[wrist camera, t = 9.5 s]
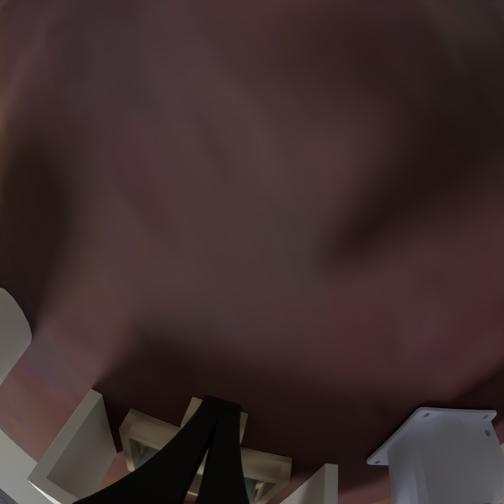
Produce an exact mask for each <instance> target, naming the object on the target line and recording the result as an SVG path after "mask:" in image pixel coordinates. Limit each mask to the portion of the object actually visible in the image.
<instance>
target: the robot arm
mask: <svg viewBox="0 0 504 504" xmlns="http://www.w3.org/2000/svg"><path fill="white" fill-rule="evenodd" d="M241 410H242V407H241V405H239V404H236V403H232V402H229V401H226V400H222V399H219V398H216V397H213V396H210V395H207V396H205V397H204V399H203V401H202V403H201V404H200V406H199V407H198V409H197V410H196V412H195V413H194V414H193V416H192V417H191V418H190V419H189V421H188V422H187V423H186V424H185V425H184V426H183V427H182V429H181V430H180V431H179V432H178V433H177V434H176V435H175V436H174V437H173V438H172V439H171V440H170V441H169V442H168V443H167V444H166V445H165V446H164V447H163V448H162V449H161V450H160V451H159V452H157V453H156V454H155V455H154V456H153V457H151V458H150V459H149V460H148V461H146V462H145V463H144V464H143V465H141V466H140V467H138V468H137V469H136V470H134V471H133V472H131V473H130V474H128V475H127V476H125V477H124V478H122V479H120V480H119V481H117V482H115V483H113V484H112V485H110V486H108V487H106V488H104V489H102V490H100V491H98V492H96V493H94V494H92V495H90V496H87V497H85V498H82V499H80V500H78V501H75V502H74V503H72V504H183V503H184V500H185V497H186V495H187V493H188V490H189V488H190V486H191V484H192V482H193V480H194V478H195V476H196V474H197V472H198V470H199V467H200V465H201V463H202V461H203V459H204V457H205V455H206V453H207V450H208V453H207V457H206V461H205V466H204V470H203V474H202V479H201V483H200V487H199V492H198V495H197V499H196V502H195V504H250V502H249V498H248V494H247V490H246V485H245V480H244V474H243V467H242V459H241V447H240V418H241ZM496 414H497V413H496V411H495V410H463V409H445V408H431V407H420V408H418V409H417V410H415V412H414V413H413V414H412V415H411V416H410V417H409V418H408V419H407V420H406V421H405V423H404V424H403V425H402V426H401V427H400V428H399V429H398V430H397V431H396V432H395V433H394V434H393V435H392V436H391V437H390V438H389V439H388V440H387V441H386V442H385V443H384V444H383V445H382V446H381V447H380V448H379V449H377V450H376V451H375V452H374V453H373V454H372V455H371V456H370V457H369V458H368V459H367V464H370V465H388V466H389V475H390V485H391V496H392V504H498V503H499V501H501V499H502V497H503V496H504V455H503V452H502V449H501V446H500V444H499V441H498V438H497V436H496V433H495V431H494V428H493V425H492V423H491V420H492V419H493V418H494V417H495V416H496ZM0 504H18V503H17V502H15V501H14V500H13V499H12V498H10V497H9V496H8V495H7V494H6V493H5V492H4V491H3V490H1V489H0Z"/></svg>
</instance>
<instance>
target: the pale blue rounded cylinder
mask: <svg viewBox="0 0 504 504" xmlns="http://www.w3.org/2000/svg"><path fill="white" fill-rule="evenodd" d="M244 480H245V485H246V490H247V494H248V498H249V502H250V504H253V500H254V495H255V490H256V486H257V480H256V479H251V478H247V477H244Z"/></svg>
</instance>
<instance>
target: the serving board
mask: <svg viewBox="0 0 504 504" xmlns="http://www.w3.org/2000/svg"><path fill="white" fill-rule="evenodd" d="M202 401H203V400H201V399H198V398H195V397H192V400H191V402H190V404H189V407H188V409H187V411H186V414H185V416H184V418H183V421H182V423H181V428H180V427H177V426H175V425H172V424H169V423H167V422H164V421H162V420H159V419H157V418H154V417H152V416H149V415H147V414H145V413H142V412H140V411H138V410H136V409H133V408H131V409H130V411H129V412H128V414H127V416H126V417H125V419H124V421H123V422H122V424H121V426H120V427H119V432H120V437H121V441H122V446H123V450H124V454H125V458H126V462H127V466H128V470H129V471H132V472H133V471H134V470H135V468H136V466H137V464H138V462H139V460H140V458H141V456H142V454H143V452H144V449H145V447H146V446H150V447H152V448H155V449H157V450H161V449H162V448H163V447H164V446H165V445H166V444H167V443H168V442H169V441H170V440H171V439H172V438H173V437H174V436H175V435H176V434H177V433H178V432H179V431H180V430H181V429H182V427H183V426H184V425H185V424H186V423H187V422H188V421H189V419H190V418H191V417H192V416H193V414H194V413H195V412H196V410H197V409H198V407H199V406H200V404H201V403H202ZM247 417H248V414H247V413H244V412H241V418H240V444H241V442H242V438H243V434H244V430H245V425H246V421H247ZM240 447H241V446H240ZM207 453H208V450H207ZM207 453H206V455H205V457H204V459H203V461H202V463H201V465H200V467H199V470H198V472H197V474H196V476H195V478H194V480H193V482H192V484H191V486H190V488H189V490H188V493H189V494H192V495H195V496H197V495H198V492H199V487H200V483H201V479H202V474H203V470H204V466H205V461H206V457H207ZM241 459H242V467H243V474H244V477H247V478H251V479H256V480H257V486H256V490H255V495H254V500H253V504H266V503H267V502H268V501H269V500H270V499H271V498H272V497H274V496H275V495H276V494H277V493H278V492H279V491H280V490H281V489H283V488H284V487H285V486H286V485H287V484H288V483H289V482H290V474H291V465H292V458H291V457H286V456H281V455H276V454H271V453H266V452H262V451H257V450H253V449H249V448H245V447H241Z"/></svg>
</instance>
